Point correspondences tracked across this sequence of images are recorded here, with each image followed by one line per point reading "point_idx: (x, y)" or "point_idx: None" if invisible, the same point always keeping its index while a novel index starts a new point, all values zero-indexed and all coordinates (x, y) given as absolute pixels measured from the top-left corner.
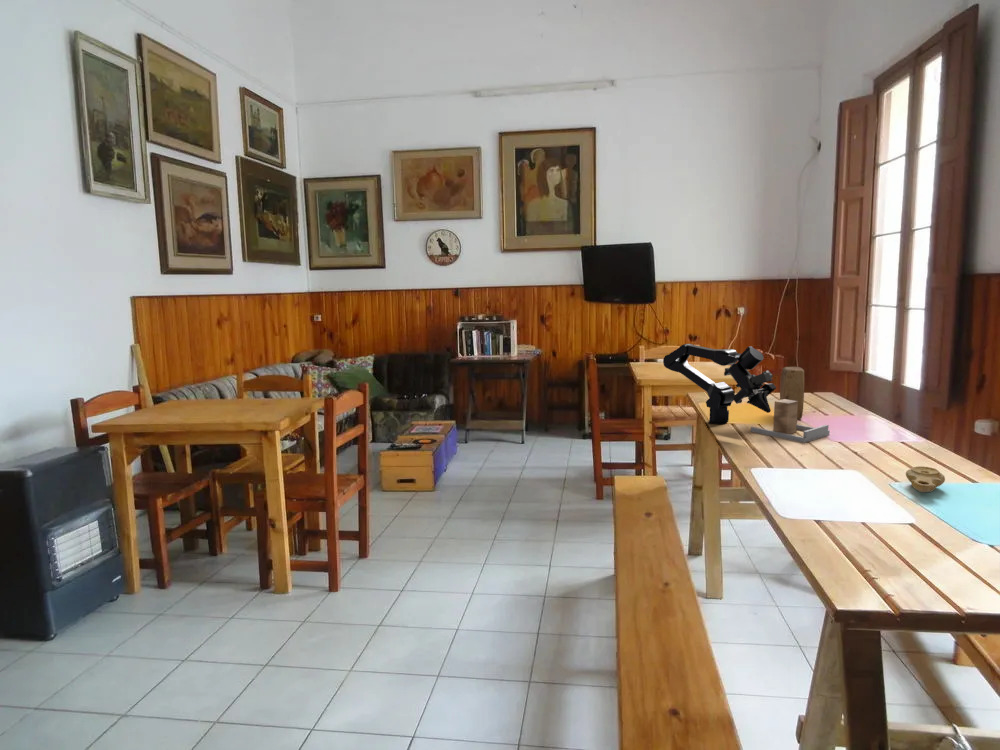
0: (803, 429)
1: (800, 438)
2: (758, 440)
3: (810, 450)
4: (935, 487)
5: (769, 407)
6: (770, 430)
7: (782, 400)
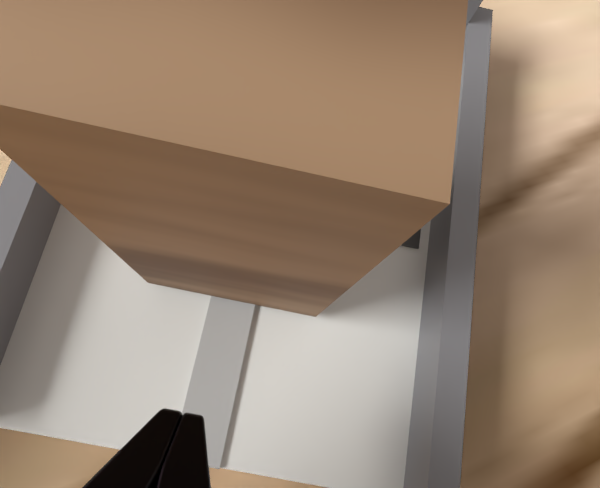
0: None
1: (485, 42)
2: (520, 365)
3: (501, 16)
4: None
5: (124, 457)
6: (445, 293)
7: (210, 72)
